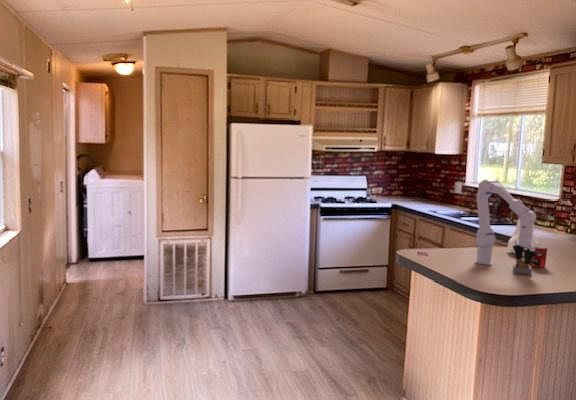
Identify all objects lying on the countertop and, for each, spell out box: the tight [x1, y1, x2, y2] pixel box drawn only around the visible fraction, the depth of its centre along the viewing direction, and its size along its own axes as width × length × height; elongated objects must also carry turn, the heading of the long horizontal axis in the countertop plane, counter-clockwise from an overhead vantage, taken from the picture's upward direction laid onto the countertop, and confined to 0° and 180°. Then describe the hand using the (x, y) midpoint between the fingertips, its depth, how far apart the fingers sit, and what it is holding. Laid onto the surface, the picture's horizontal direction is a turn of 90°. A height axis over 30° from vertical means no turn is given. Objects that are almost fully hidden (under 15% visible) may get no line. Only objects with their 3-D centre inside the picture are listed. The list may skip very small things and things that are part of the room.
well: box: [512, 263, 533, 277], centre depth 255 cm, size 8×8×3 cm
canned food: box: [528, 244, 548, 269], centre depth 268 cm, size 8×8×11 cm
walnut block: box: [515, 258, 529, 268], centre depth 254 cm, size 4×4×6 cm
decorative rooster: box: [507, 218, 539, 257], centre depth 291 cm, size 25×16×25 cm, turn 152°
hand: (522, 262), depth 254 cm, fingers open, 7 cm apart
